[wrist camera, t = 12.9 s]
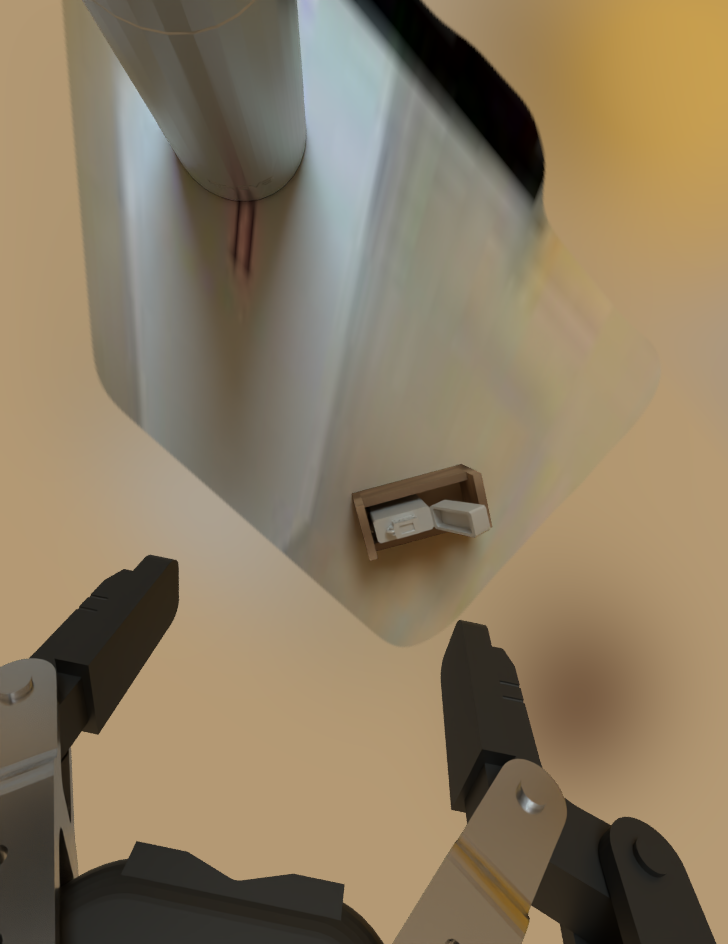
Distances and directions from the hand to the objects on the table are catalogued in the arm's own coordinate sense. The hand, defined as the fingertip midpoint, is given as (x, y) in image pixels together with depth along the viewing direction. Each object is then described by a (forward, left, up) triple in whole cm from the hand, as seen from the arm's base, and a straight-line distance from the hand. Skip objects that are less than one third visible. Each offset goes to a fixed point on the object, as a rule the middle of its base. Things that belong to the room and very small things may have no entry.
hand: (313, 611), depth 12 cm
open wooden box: (+3, +7, -22) cm, 24 cm away
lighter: (+3, +7, -22) cm, 23 cm away
